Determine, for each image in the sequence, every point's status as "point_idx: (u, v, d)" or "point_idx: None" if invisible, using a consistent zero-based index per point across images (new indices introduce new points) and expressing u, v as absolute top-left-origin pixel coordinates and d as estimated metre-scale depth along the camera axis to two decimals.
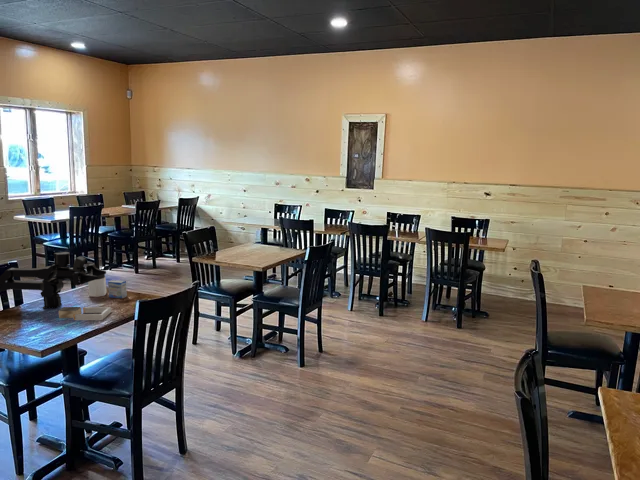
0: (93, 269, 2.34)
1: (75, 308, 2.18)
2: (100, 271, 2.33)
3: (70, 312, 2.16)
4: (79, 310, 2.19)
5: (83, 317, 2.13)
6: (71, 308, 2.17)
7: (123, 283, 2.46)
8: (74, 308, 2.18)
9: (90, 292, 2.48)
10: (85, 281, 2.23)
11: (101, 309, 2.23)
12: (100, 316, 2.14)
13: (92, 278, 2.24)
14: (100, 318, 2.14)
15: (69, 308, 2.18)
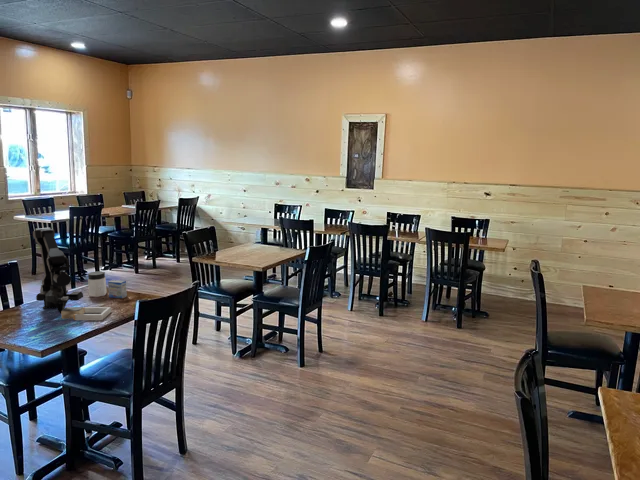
0: None
1: (78, 308, 2.18)
2: None
3: (72, 312, 2.15)
4: (82, 310, 2.18)
5: (83, 317, 2.13)
6: (73, 308, 2.17)
7: (123, 283, 2.46)
8: (77, 308, 2.17)
9: (90, 292, 2.48)
10: None
11: (101, 309, 2.23)
12: (100, 316, 2.14)
13: None
14: (100, 318, 2.14)
15: (72, 308, 2.17)
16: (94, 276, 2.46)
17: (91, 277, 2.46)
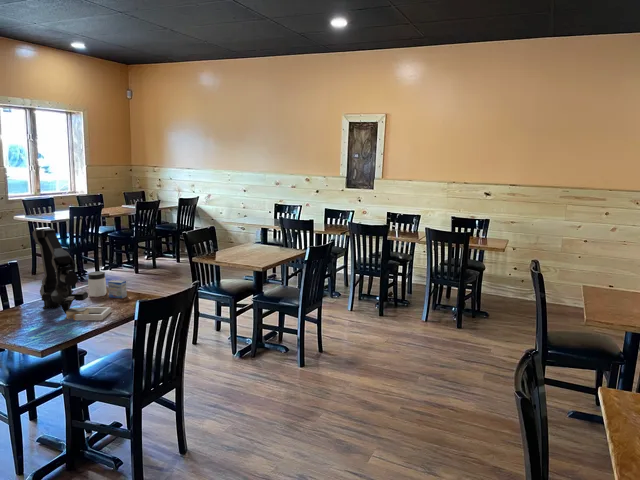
0: None
1: (83, 309, 2.18)
2: None
3: (77, 312, 2.15)
4: (86, 311, 2.18)
5: (83, 317, 2.13)
6: (78, 309, 2.17)
7: (123, 283, 2.46)
8: (81, 309, 2.17)
9: (90, 292, 2.48)
10: None
11: (101, 309, 2.23)
12: (100, 316, 2.14)
13: None
14: (100, 318, 2.14)
15: (77, 309, 2.17)
16: (94, 276, 2.46)
17: (91, 277, 2.46)
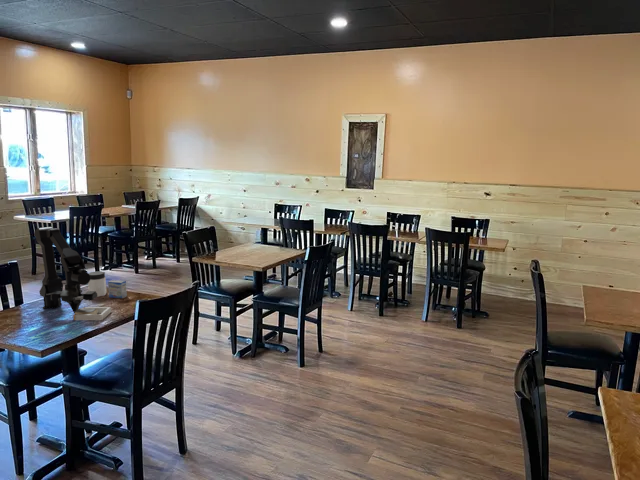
0: None
1: (91, 309, 2.18)
2: None
3: (86, 313, 2.15)
4: (95, 312, 2.19)
5: (83, 317, 2.13)
6: (87, 310, 2.17)
7: (123, 283, 2.46)
8: (90, 309, 2.18)
9: None
10: None
11: (101, 309, 2.23)
12: (100, 316, 2.14)
13: None
14: (100, 318, 2.14)
15: (85, 309, 2.18)
16: (94, 276, 2.46)
17: (91, 277, 2.46)
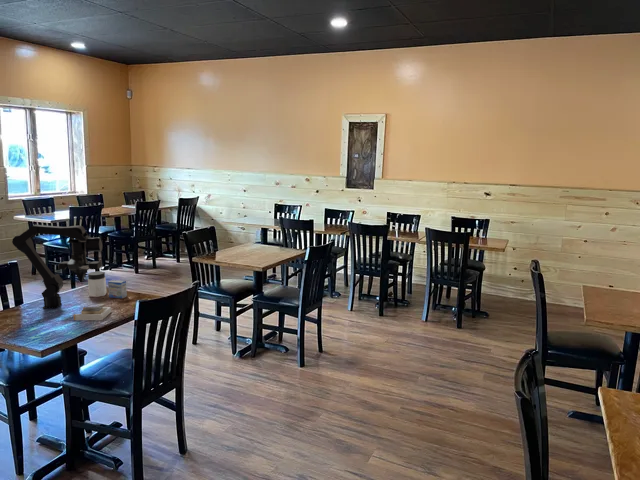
0: None
1: (98, 308, 2.18)
2: None
3: (93, 312, 2.16)
4: (101, 310, 2.19)
5: (83, 317, 2.13)
6: (93, 309, 2.18)
7: (123, 283, 2.46)
8: (96, 308, 2.18)
9: (90, 292, 2.48)
10: None
11: None
12: (100, 316, 2.14)
13: None
14: (100, 318, 2.14)
15: (91, 308, 2.18)
16: (94, 276, 2.46)
17: (91, 277, 2.46)
